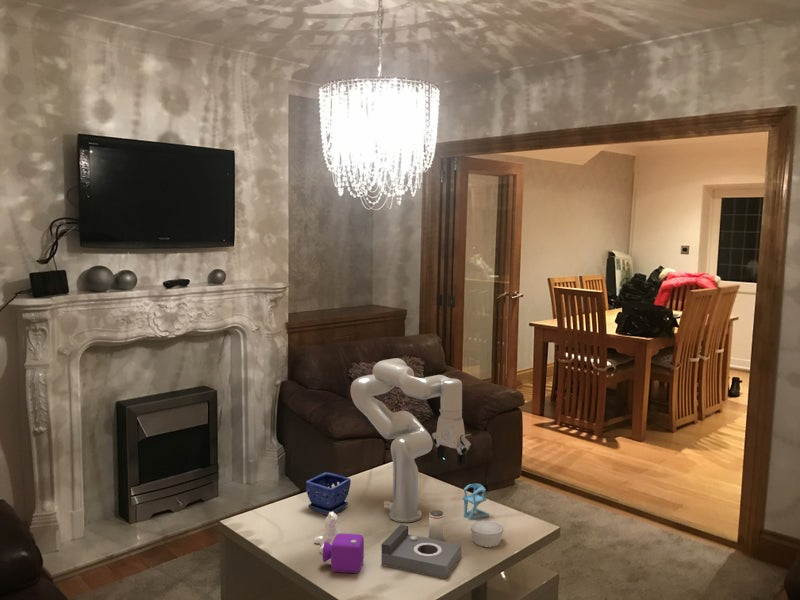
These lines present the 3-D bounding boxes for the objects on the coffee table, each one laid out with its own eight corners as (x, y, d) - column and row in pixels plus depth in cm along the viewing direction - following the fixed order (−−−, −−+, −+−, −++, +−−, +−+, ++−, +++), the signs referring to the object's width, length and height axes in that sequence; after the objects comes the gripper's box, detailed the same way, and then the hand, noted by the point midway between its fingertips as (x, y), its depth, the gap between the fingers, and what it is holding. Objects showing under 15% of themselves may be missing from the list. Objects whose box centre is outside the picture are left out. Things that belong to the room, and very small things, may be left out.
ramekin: (465, 537, 231) (465, 522, 231) (492, 532, 235) (493, 518, 235) (480, 551, 221) (480, 536, 221) (508, 545, 225) (509, 531, 225)
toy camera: (321, 559, 214) (321, 530, 213) (363, 558, 215) (363, 528, 215) (320, 576, 204) (320, 545, 203) (364, 574, 205) (364, 544, 204)
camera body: (381, 564, 211) (381, 544, 210) (400, 543, 226) (400, 524, 225) (445, 578, 203) (446, 557, 202) (461, 556, 217) (461, 535, 217)
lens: (426, 540, 229) (427, 514, 228) (431, 534, 233) (432, 508, 233) (440, 542, 227) (440, 516, 226) (445, 536, 231) (445, 511, 231)
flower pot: (352, 507, 256) (352, 477, 255) (331, 519, 245) (331, 488, 244) (325, 499, 264) (325, 471, 262) (304, 511, 252) (304, 481, 251)
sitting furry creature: (313, 542, 226) (312, 508, 225) (336, 537, 230) (336, 505, 229) (320, 554, 218) (320, 519, 217) (345, 549, 221) (345, 515, 220)
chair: (459, 515, 250) (459, 484, 249) (474, 509, 255) (475, 479, 254) (473, 522, 244) (473, 491, 243) (489, 516, 249) (489, 485, 248)
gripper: (426, 411, 233) (425, 457, 235) (462, 420, 221) (462, 469, 222) (440, 407, 239) (440, 453, 240) (476, 416, 226) (476, 464, 228)
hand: (450, 461), depth 231 cm, fingers open, 9 cm apart
